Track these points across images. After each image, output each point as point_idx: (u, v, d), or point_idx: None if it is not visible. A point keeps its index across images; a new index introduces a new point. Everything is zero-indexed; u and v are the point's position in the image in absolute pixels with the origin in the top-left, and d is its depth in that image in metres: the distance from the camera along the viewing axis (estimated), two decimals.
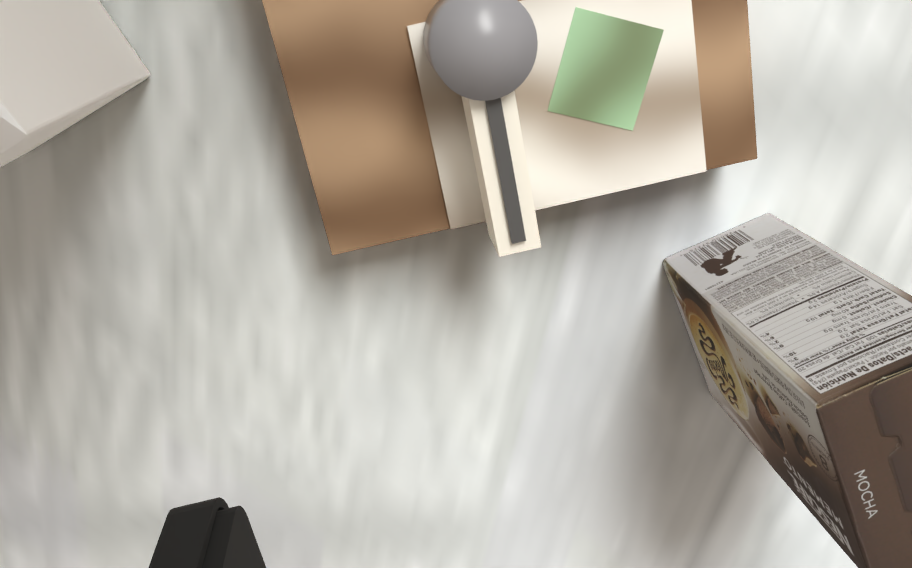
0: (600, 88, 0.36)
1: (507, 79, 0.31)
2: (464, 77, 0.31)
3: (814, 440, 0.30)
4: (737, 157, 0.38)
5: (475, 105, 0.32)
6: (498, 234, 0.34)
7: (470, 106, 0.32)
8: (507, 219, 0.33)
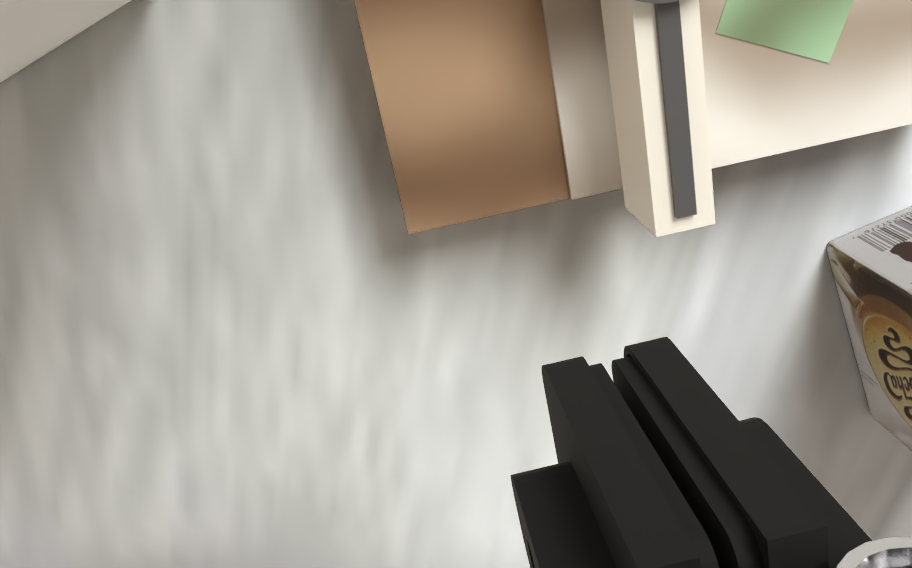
0: (790, 0, 0.25)
1: None
2: None
3: None
4: None
5: (640, 12, 0.22)
6: (657, 205, 0.24)
7: (632, 14, 0.22)
8: (672, 183, 0.23)
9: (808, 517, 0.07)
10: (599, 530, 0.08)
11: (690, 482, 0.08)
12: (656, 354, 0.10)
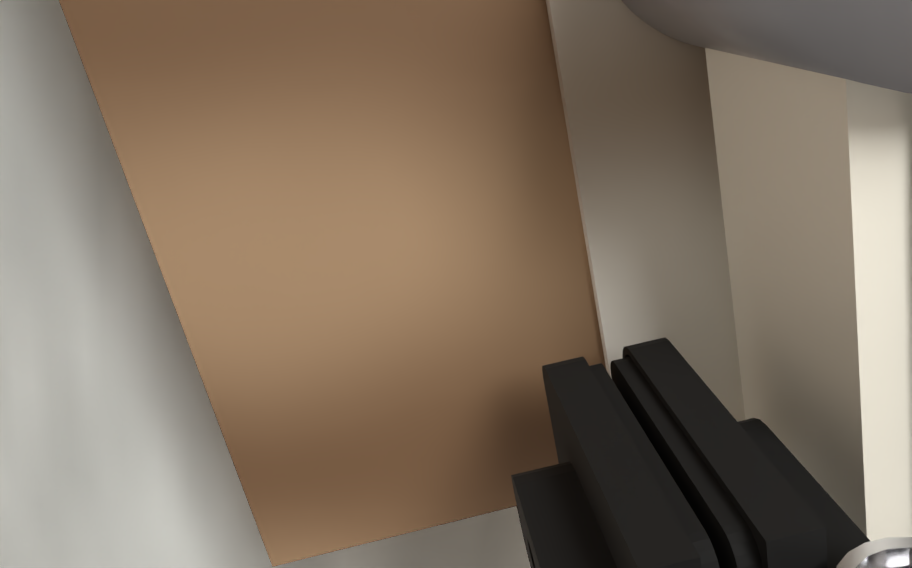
0: None
1: None
2: None
3: None
4: None
5: (873, 116, 0.07)
6: None
7: (843, 123, 0.07)
8: None
9: (805, 517, 0.07)
10: (599, 530, 0.08)
11: (689, 483, 0.08)
12: (655, 355, 0.10)
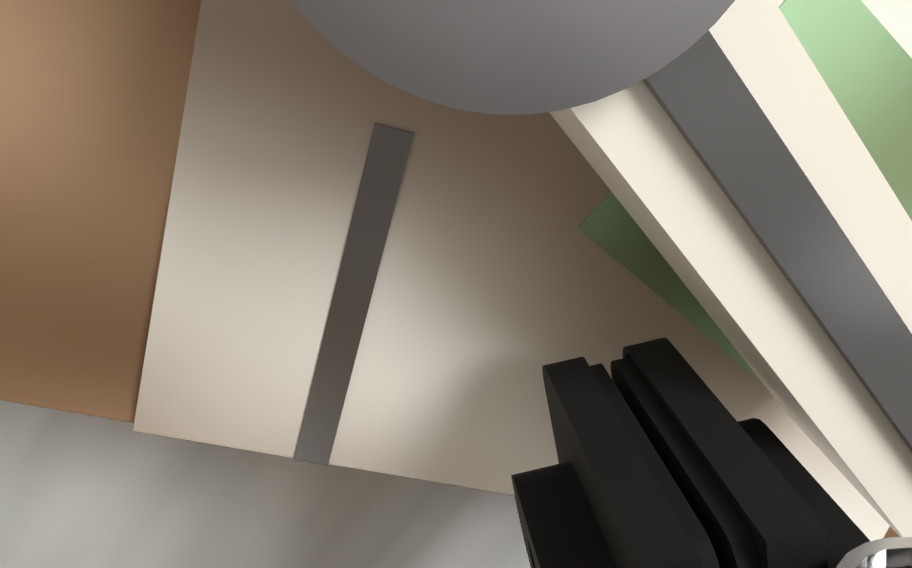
0: None
1: None
2: (503, 24, 0.06)
3: None
4: None
5: (606, 109, 0.07)
6: (888, 498, 0.09)
7: (586, 126, 0.07)
8: (908, 443, 0.08)
9: (805, 517, 0.07)
10: (600, 530, 0.08)
11: (689, 483, 0.08)
12: (655, 355, 0.10)
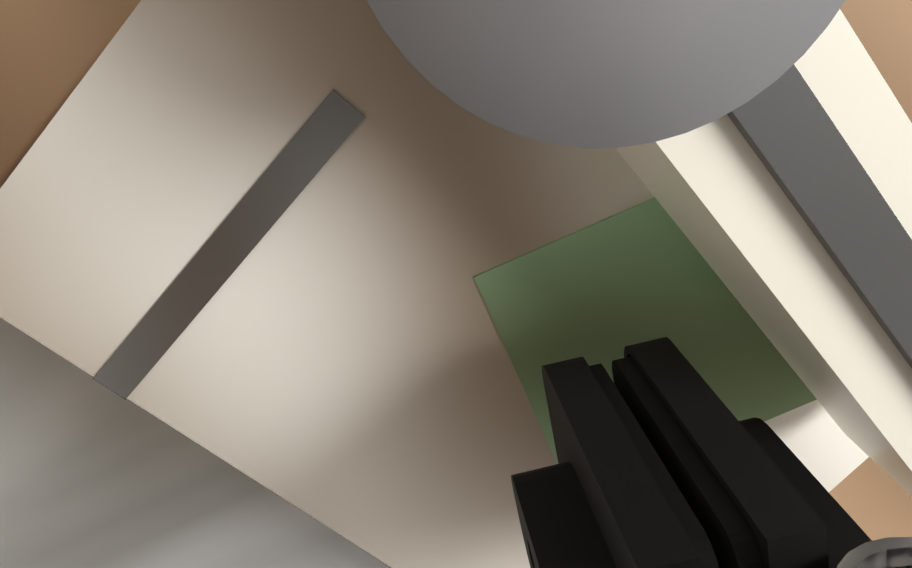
0: (621, 355, 0.12)
1: None
2: (597, 61, 0.06)
3: None
4: None
5: (688, 139, 0.07)
6: None
7: (667, 155, 0.07)
8: None
9: (806, 517, 0.07)
10: (599, 530, 0.08)
11: (690, 482, 0.08)
12: (656, 354, 0.10)
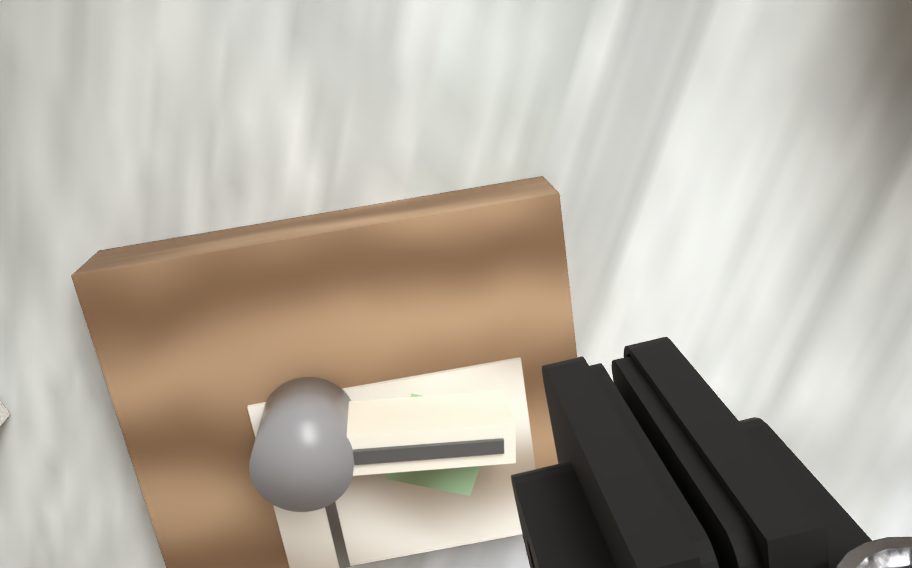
0: None
1: (336, 451, 0.32)
2: (328, 487, 0.32)
3: None
4: None
5: (359, 470, 0.33)
6: (492, 462, 0.33)
7: (360, 473, 0.33)
8: (478, 454, 0.33)
9: (807, 517, 0.07)
10: (599, 530, 0.08)
11: (690, 482, 0.08)
12: (656, 354, 0.10)
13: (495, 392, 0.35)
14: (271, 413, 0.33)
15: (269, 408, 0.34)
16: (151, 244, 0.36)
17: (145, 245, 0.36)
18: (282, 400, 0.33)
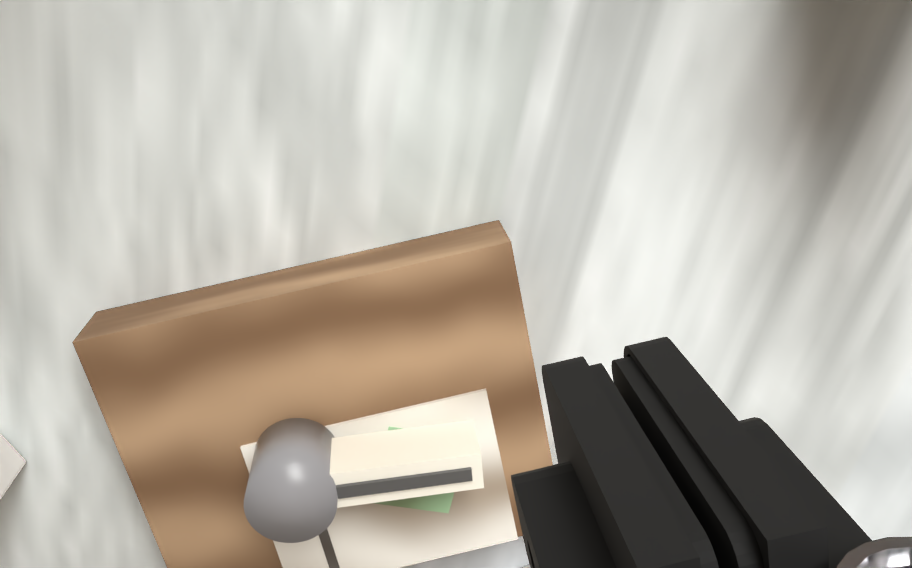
0: None
1: (320, 488, 0.35)
2: (316, 520, 0.36)
3: None
4: None
5: (343, 502, 0.36)
6: (462, 488, 0.37)
7: (344, 505, 0.37)
8: (449, 482, 0.37)
9: (808, 517, 0.07)
10: (599, 530, 0.08)
11: (690, 482, 0.08)
12: (656, 354, 0.10)
13: (463, 421, 0.39)
14: (261, 456, 0.36)
15: (259, 450, 0.37)
16: (143, 304, 0.39)
17: (138, 305, 0.39)
18: (271, 443, 0.37)
